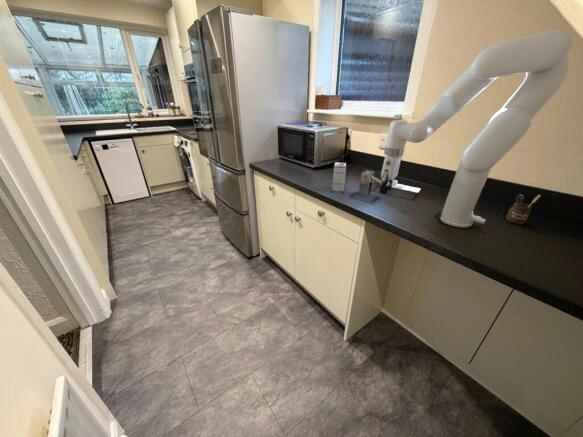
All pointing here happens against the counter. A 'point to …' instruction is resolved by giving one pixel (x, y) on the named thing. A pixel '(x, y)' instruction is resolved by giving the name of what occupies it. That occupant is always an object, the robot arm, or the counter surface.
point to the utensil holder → (520, 211)
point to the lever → (378, 180)
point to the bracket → (366, 183)
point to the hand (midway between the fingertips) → (385, 191)
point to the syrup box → (339, 176)
